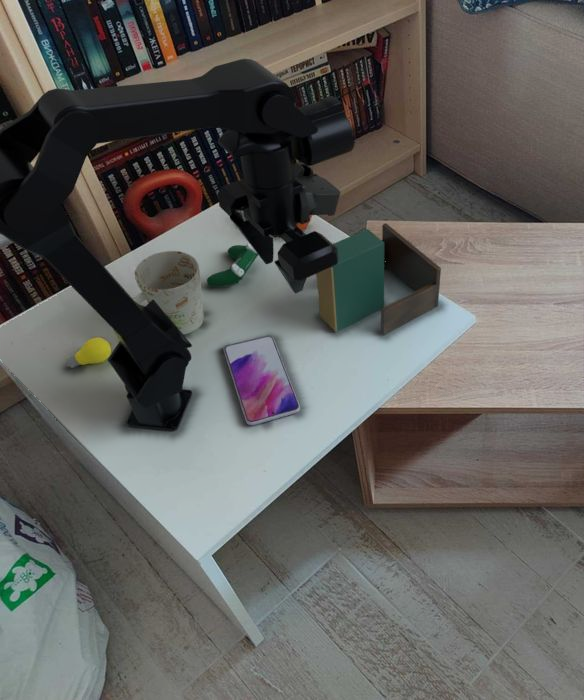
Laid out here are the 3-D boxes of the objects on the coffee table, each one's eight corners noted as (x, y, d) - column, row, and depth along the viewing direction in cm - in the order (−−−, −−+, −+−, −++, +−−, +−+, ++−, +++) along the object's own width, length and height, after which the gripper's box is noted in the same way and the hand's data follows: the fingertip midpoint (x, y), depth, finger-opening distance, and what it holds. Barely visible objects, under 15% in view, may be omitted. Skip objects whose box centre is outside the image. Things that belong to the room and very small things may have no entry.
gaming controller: (221, 299, 106) (243, 285, 103) (202, 283, 105) (223, 267, 101) (246, 263, 113) (267, 248, 109) (228, 247, 111) (249, 232, 107)
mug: (223, 318, 101) (211, 267, 94) (154, 367, 94) (134, 316, 86) (185, 294, 104) (171, 242, 97) (115, 339, 96) (93, 288, 89)
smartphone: (272, 333, 99) (301, 408, 90) (272, 337, 99) (301, 413, 91) (221, 345, 96) (246, 424, 87) (222, 349, 97) (247, 428, 88)
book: (335, 333, 101) (331, 267, 92) (320, 317, 103) (314, 251, 94) (384, 308, 106) (384, 242, 96) (368, 293, 108) (367, 228, 98)
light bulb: (113, 342, 95) (118, 359, 93) (72, 362, 94) (77, 380, 92) (99, 328, 92) (104, 346, 91) (57, 349, 91) (61, 367, 89)
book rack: (383, 335, 102) (384, 297, 96) (332, 286, 108) (329, 247, 102) (437, 306, 107) (441, 268, 101) (385, 261, 114) (386, 222, 108)
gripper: (373, 191, 78) (374, 291, 89) (286, 122, 87) (297, 221, 98) (290, 225, 72) (302, 326, 84) (205, 147, 81) (226, 249, 92)
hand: (283, 276), depth 90 cm, fingers open, 7 cm apart
